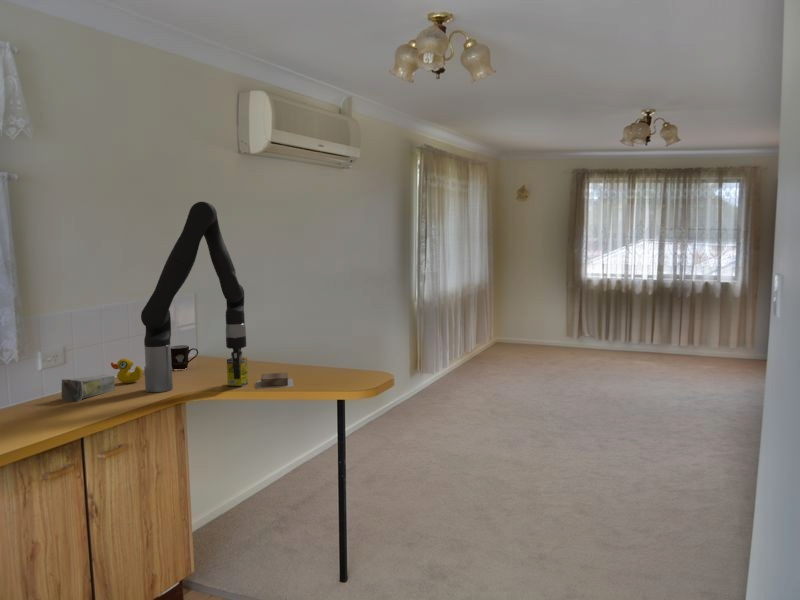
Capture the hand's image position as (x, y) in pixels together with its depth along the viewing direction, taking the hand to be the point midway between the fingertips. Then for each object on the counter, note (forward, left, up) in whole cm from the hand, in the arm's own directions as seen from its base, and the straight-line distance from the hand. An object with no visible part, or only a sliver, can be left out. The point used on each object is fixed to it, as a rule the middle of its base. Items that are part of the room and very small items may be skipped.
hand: (237, 376), depth 246 cm
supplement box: (0, 0, -4) cm, 4 cm away
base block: (+14, -1, -3) cm, 14 cm away
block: (-53, 0, -4) cm, 53 cm away
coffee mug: (-26, +40, -4) cm, 48 cm away
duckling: (-44, +17, -4) cm, 47 cm away
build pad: (+14, -1, -4) cm, 15 cm away
